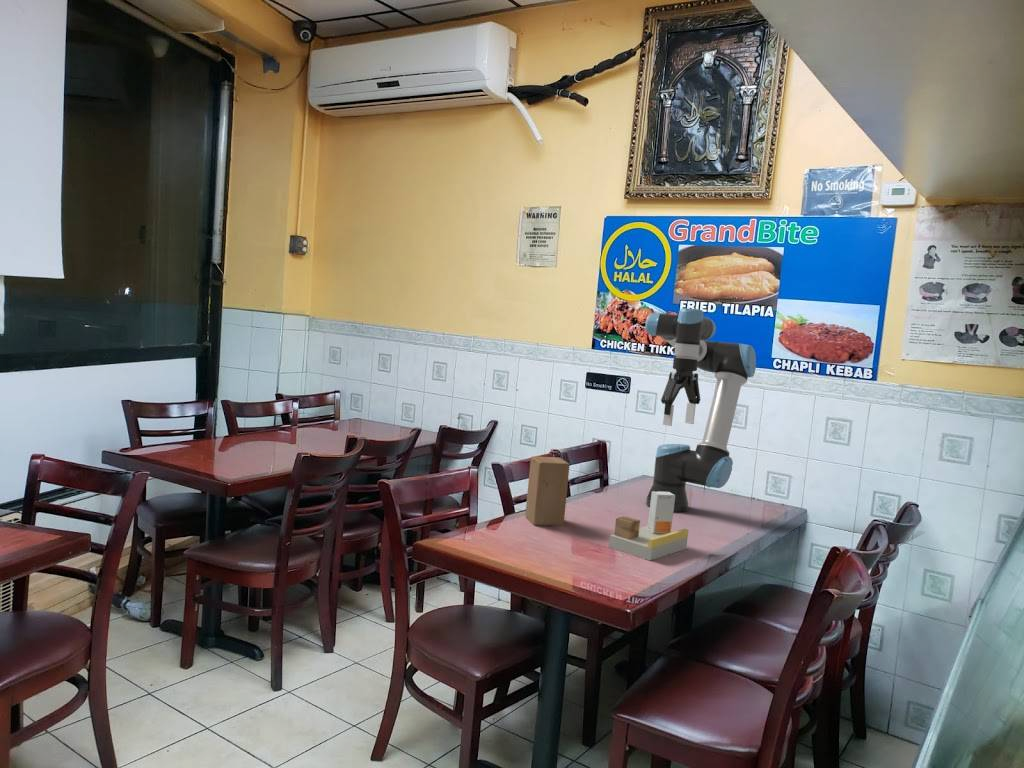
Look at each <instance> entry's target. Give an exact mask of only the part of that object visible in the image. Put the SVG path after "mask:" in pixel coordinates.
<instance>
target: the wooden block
mask: <svg viewBox="0 0 1024 768" xmlns="http://www.w3.org/2000/svg"><path fill="white" fill-rule="evenodd" d="M528 473H529V475H528V481H527V483H528V484H527V493H526V494H527V495H526V505H525V515H524V517H525V516H526V517H527V518H528V519H529V520H530V521H531V522H532V523H533V524H534V525H533V524H532V523H531V522H530V521H529V520H528V519H527V518H526V517H525V518H526V519H527V520H528V521H529V522H530V523H531V524H532V525H533V526H545V525H550V526H551V525H552V526H554V527H559V526H560V527H561V526H563V527H564V524H565V514H566V506H567V505H566V504H567V496H568V495H567V494H568V485H569V475H570V463H569V462H567V461H566V460H564V459H563V458H561V457H557V456H556V457H555V456H537V455H536V456H531V457H530V463H529V472H528ZM552 526H551V527H552Z"/></svg>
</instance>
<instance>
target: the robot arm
mask: <svg viewBox="0 0 1024 768" xmlns="http://www.w3.org/2000/svg"><path fill="white" fill-rule="evenodd" d="M644 326H645V332H646V334H647V335H648V336H653V337H660V338H661V339H663V340H664V341H665V342H666V343H668V344H670V346H672V347H673V348H674V356H675V357H674V358H673V360H672V361H673V362H672V369H674V370H675V372H669V375H668V380H667V383H666V385H665V388H664V390H663V394H662V396H661V398H660V401H661V403H662V404H663V405H664V411H663V419H662V420H663V421H662V425H663V426H669V427H672V426H673V419H674V418H673V417H674V407H675V405H674V402H675V400H676V398H677V397H678V395H679V393H680V391H681V390H682V389H684V391H685V394H686V397H687V400H688V402H687V403H686V411H685V421H684V423H685V424H690V425H694V424H695V415H696V408H697V407H696V405H699V404H700V402H701V394H700V388H699V387H700V385H699V373H696V372H697V370H698V369H700V370H702V371H704V372H708V373H713V374H714V378H715V379H716V380H717V381H716V384H715V385H716V386H715V389H714V394H713V397H712V402H711V406H710V409H709V414H708V418H707V421H706V426H705V430H704V434H703V437H702V441H701V442H700V443H698V444H696V448H695V450H692V449H691V445H689V444H685V443H682V444H681V443H668V444H661V445H659V446H658V447H657V448H656V455H655V462H654V471H653V482H652V486H651V487H650V489H649V492H648V493H647V496H646V500H645V501H646V502H645V504H647V505H646V506H648V507H649V506H650V502H651V494H652V491H654V492H659V491H660V492H670V493H672V494H674V495H675V503H674V510H673V513H680V512H681V511H683V512H686V510H687V511H688V510H689V499H688V495H687V490H686V484H687V483H690V484H693V485H698V486H704V487H707V488H712V489H713V488H715V489H721V488H723V487H724V486H725V485H726V484H727V483H728V481H729V479H730V477H731V474H732V471H733V464H734V462H733V459H732V457H731V456H730V455H731V454H730V451H729V449H728V447H727V446H728V444H729V443H728V442H729V438H730V434H731V431H732V427H733V426H732V425H733V421H734V419H735V418H734V417H735V414H736V409H737V406H738V401H739V398H740V393H741V390H742V389H741V387H742V386H744V385H745V384H747V382H748V378H753V377H754V375H755V372H756V367H757V359H756V358H757V357H756V352H755V349H754V347H753V346H752V345H750V344H746V343H745V344H744V343H736V342H725V341H718V340H717V341H715V340H714V341H713V340H710V339H712V338H713V337H714V336H715V334H716V329H717V326H716V324H715V322H714V321H713V319H711V318H709V317H708V316H704V311H703V310H702V309H698V308H687V307H686V308H685V307H683V308H680V310H678V314H670V313H661V312H658V313H656V312H655V313H649V314H648V316H647V318H646V321H645V325H644ZM681 513H682V512H681Z"/></svg>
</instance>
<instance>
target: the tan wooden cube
mask: <svg viewBox="0 0 1024 768" xmlns="http://www.w3.org/2000/svg"><path fill="white" fill-rule="evenodd" d="M640 524H641V519H638V518H633V517H630V516H628V515H625V516H619V517H616V518H615V526H614V535H616V536H619V537H622V538H625V539H633V538H636V537H638V535H639V528H640V526H641V525H640Z"/></svg>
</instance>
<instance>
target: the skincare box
mask: <svg viewBox="0 0 1024 768" xmlns="http://www.w3.org/2000/svg"><path fill="white" fill-rule="evenodd" d="M674 503H675V495H674V494H672V493H670V492H660V491H659V492H654V491H652V494H651V502H650V507H649V510H648V519H647V520H648V521H647V526H648V527H647V530H649V531H650V532H652V533H662V534H668V533H671V532H672V526H673V518H674V512H673V510H674Z"/></svg>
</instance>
